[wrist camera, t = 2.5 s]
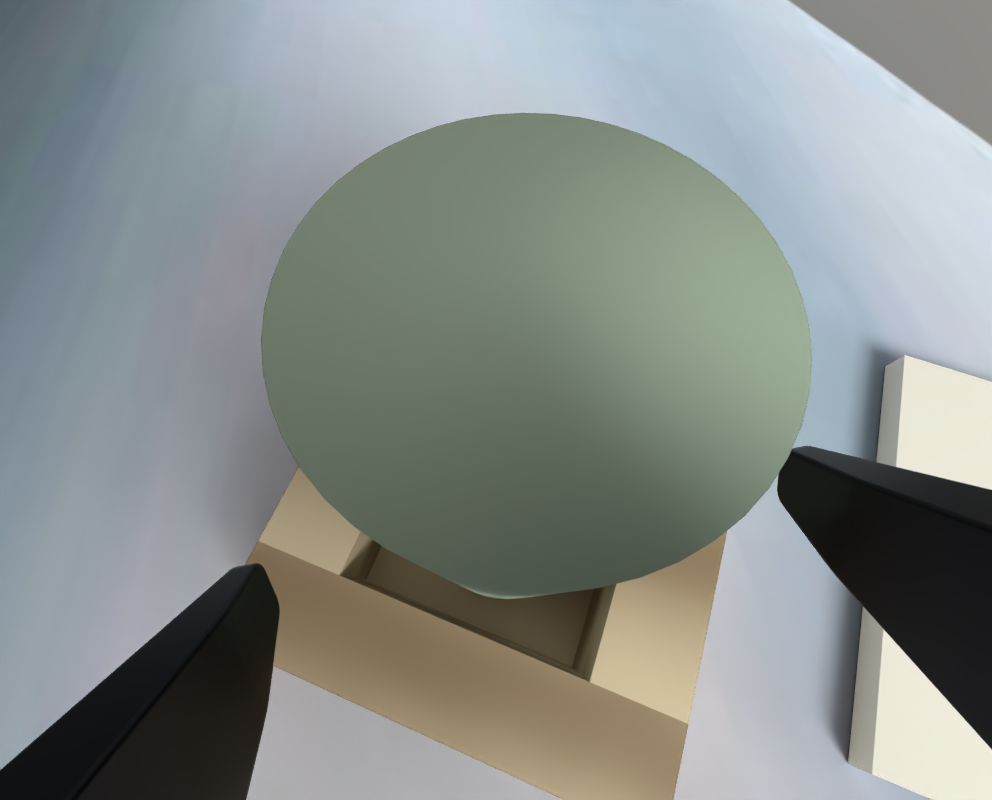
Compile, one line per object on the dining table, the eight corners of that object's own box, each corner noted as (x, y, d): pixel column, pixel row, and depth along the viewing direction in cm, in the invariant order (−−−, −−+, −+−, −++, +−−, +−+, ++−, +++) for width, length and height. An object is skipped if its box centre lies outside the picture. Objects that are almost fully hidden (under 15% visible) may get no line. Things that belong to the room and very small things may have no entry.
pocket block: (625, 790, 14) (664, 845, 11) (264, 628, 16) (206, 635, 13) (709, 426, 19) (755, 389, 15) (418, 326, 20) (404, 273, 17)
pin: (553, 625, 16) (761, 707, 4) (403, 563, 16) (144, 452, 4) (600, 474, 17) (841, 187, 5) (463, 423, 18) (405, 68, 6)
